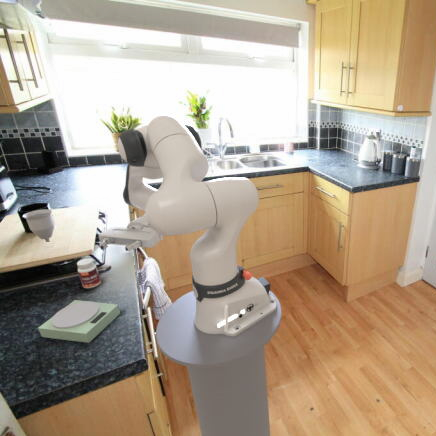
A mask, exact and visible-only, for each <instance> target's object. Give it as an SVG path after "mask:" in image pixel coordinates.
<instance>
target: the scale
mask: <svg viewBox="0 0 436 436" xmlns="http://www.w3.org/2000/svg"><path fill="white" fill-rule="evenodd" d="M120 314H121V310H120V306H119V304H117V303H105V302H98V301H91V300H81V299H80V300H78V299H74V300H73V301H71V302H70V303H69V304H68V305H66V306H65V307H63V308H61V309H60V310H59V311H57V312H56V313H55V314H54V315H53V316H51V317H50V318H49V319H48V320H46V321H45V322H44V323H42V324H41V325H40V326H39V327H37V330H38V332H39V333H40V336H41V338H46V339H55V340H62V341H71V342H79V343H86V344H87V343H88V344H90V343H91V342H92V341H93V340H94V339H95V338H96V337H97V336H98V335H99V334H100V333H102V331H104V330H105V328H107V327H108V326H109V325H110V324H111V323H112V322H113V321H114V320H115V319H116V318H117V317H118V316H119V315H120Z"/></svg>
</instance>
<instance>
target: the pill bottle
mask: <svg viewBox="0 0 436 436" xmlns="http://www.w3.org/2000/svg"><path fill="white" fill-rule="evenodd" d="M76 265H77V274H78V277H79V279H80V282H81V284H82V288H83V289H94V288H96V287H98V286H99V285H100V284H101V283H102V281H101V277H100V273H99V270H98V267H97V264H95V262H94V260H93V258H90V257H88V258H83V259H82V258H81V259H80V260H78V261H77V262H76Z"/></svg>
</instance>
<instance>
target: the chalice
mask: <svg viewBox="0 0 436 436" xmlns="http://www.w3.org/2000/svg"><path fill="white" fill-rule="evenodd" d="M22 218H24V219H26V223H27V225H28V227H29V230H30V231H31V232H32V233H33V234H34V235H35V236H36V237H38V238H39V239H40V240H45V243H46V242H51V240H50V238H52V237H53V233H54V230H55V222H54V219H53V217H52V210H51V209H36V210H32V211H29V212H26V213H24V214H23V215H22Z"/></svg>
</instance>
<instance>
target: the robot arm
mask: <svg viewBox="0 0 436 436" xmlns="http://www.w3.org/2000/svg"><path fill="white" fill-rule="evenodd" d="M117 139H118V140H117V150H118V153H119V155H120V157H121V158H122V160H124V162H125V164H127V165H126V171H125V173H126V174H125V184H124V188H123V190H122V191H123V192H122V198H123V201H124V203H125V204H126V205H129V206H132V207H134V208H137V209H138V210H142V211H144V214H143V215H142V216H139V217H137V218H135V219H134V220H132V221H130V222H129V223H128V224H127V226H126V227H122V226H113V227H111V228H110V227H109V228H108V229H106V230H103V231H102V232H100V233H98V239H99V245H98V246H99V249H102V250H105V249H107V248H108V247H109V246H108V245H112V246H113V245H115V246H124V249H125V251H126V252H132V251H133V250H136V249H139V248H147V249H151V248H154V247H156V246H157V245H158V244H159V243H160V242H162V241H163V240H164V237H171V236H172V237H173V236H174V237H175V236H182V235H183V236H184V235H189V234H193V233H196V232H199V231H203V230H205V232H204V233H203V234H202V235H201V236H200V237H199V238H198V239H196V240H195V242H193V244H192V246H191V249H190V251H189V258H190V265H191V270H192V276H191V282H192V286H191V287H192V291H194V296H195V298H196V314H195V319H194V323H195V326H196V327H197V329H198V330H200V331H201V332H204V333H207V334H224V335H227V336H231V337H234V336H237V335H238V334H240V333H241V332H243V331H244V330H246V329H247V328H249V327H251V326H252V325H254V324H255V323H257V322H258V321H260V320H261V319H263V318H264V317H266V316H268V315H269V314H271V313H272V312H274V311H275V310H276V309H277V305H276V300H275V298H274V297H273V295H272V294H271V293H270V292H269V291H271V283H270V281H268V280H267V279H266V278H265V277H263V276H261V277H258V278H256V277H255V276H253V274H252V273H251V272H250V271H249V270H245V267H243V266H242V265H240V264H239V263H238V241H239V238H240V235H241V232H242V230H243V228H244V226H245V224H246V223H247V222H248V220H249V219H250V218H251V217H252V216H253V215H254V213H255V212H256V211H257V210H258V207H259V203H260V196H259V191H258V189H257V187H256V185H255V184H254V182H252V181H251V180H250V179H249V178H246V177H236V176H235V177H234V176H233V177H231V176H229V177H228V176H227V177H221V178H215V179H211V180H205V181H203V180H204V179H205V177H206V176H207V174H208V172H209V162H208V158H207V156H206V155H205V153H204V151H203V150H202V149H203V147H202V146H203V145H202V139H201V135H200V134H199V132H198V130H197V129H196V128H195V127H194V126H192V125H191V124H184V123H182V122H181V121H180V120H179V119H178V118H176V117H174V116H172V115H159V116H156V117H154V118H153V119H152V120H151V121H150V122H149V123H148V124H146V125H143V126H142V127H139V128H129V129H125V130H123V131H121V132H120V133H119V135H118V136H117ZM143 178H144V179H147V180H160V179H162V182H161V184H160V186H159V187H158V188H155V187H152V186H151V185H149V184H147V183H145V182H144V181H143ZM237 329H238V330H237Z"/></svg>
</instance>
